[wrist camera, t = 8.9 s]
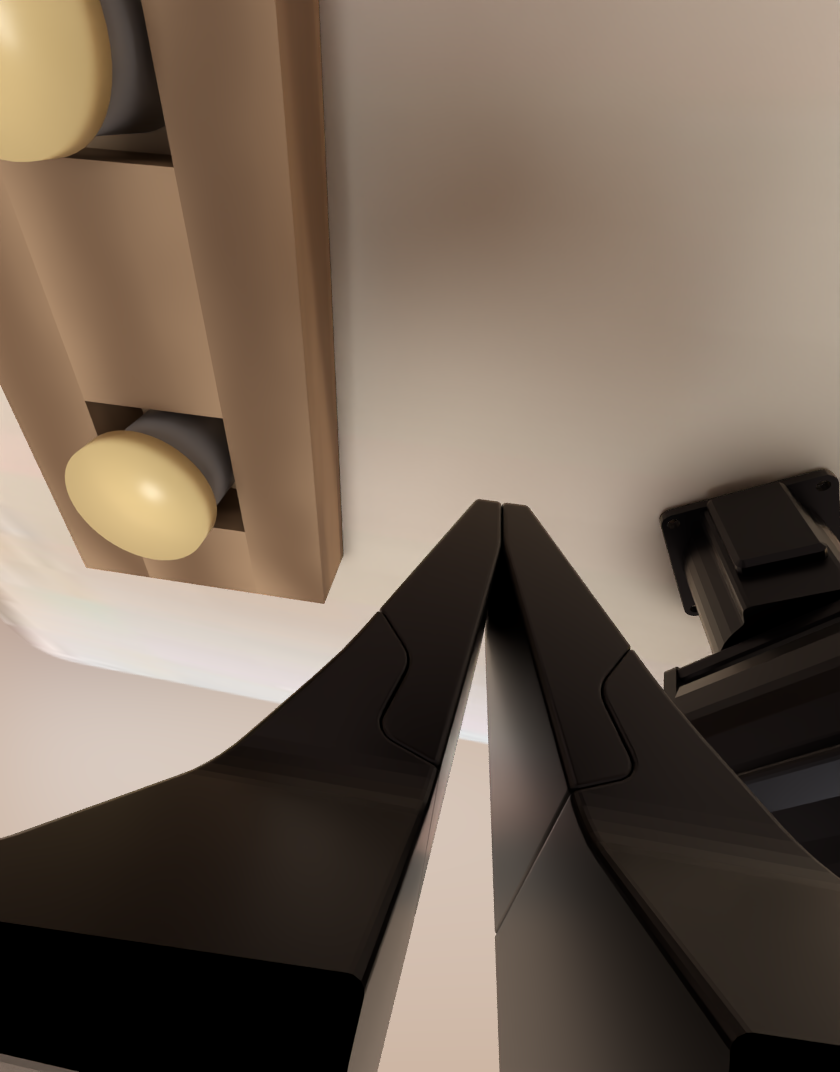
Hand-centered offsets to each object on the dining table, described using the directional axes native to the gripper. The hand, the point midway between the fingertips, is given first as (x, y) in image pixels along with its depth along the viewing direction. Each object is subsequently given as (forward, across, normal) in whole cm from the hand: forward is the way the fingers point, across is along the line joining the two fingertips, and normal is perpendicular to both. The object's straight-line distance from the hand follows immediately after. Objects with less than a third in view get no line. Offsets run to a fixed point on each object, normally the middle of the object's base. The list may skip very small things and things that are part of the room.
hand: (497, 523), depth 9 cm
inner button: (+12, +13, +7) cm, 19 cm away
